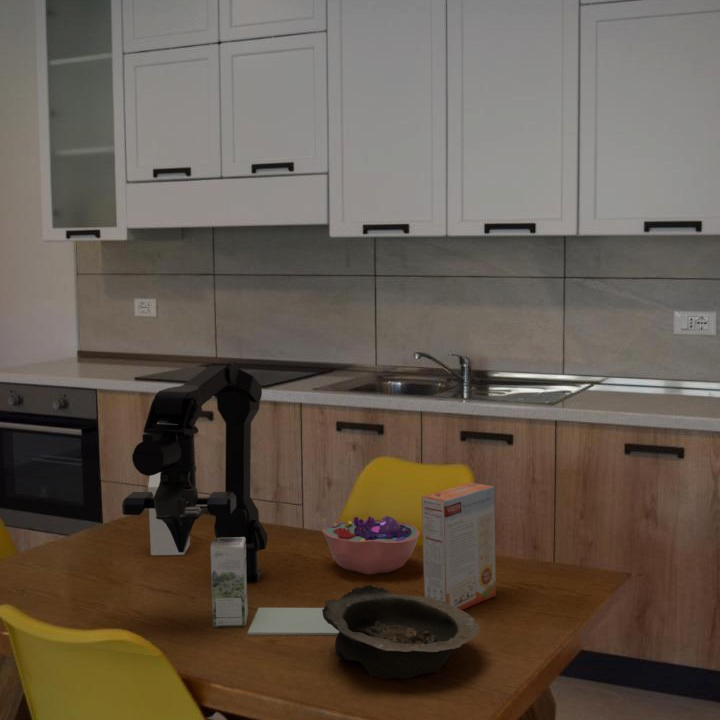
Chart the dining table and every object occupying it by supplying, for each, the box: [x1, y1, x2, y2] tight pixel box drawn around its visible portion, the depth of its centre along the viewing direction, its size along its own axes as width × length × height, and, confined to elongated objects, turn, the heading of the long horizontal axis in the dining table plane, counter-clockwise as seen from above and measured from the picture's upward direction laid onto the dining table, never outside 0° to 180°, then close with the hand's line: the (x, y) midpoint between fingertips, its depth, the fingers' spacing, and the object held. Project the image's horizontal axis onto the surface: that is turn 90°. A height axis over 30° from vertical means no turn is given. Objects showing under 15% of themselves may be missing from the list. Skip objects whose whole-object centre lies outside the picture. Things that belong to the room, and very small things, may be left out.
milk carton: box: [147, 472, 191, 556], centre depth 222 cm, size 7×7×19 cm
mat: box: [247, 607, 339, 636], centre depth 180 cm, size 12×16×1 cm
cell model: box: [321, 515, 421, 575], centre depth 207 cm, size 17×20×11 cm
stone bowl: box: [322, 585, 481, 680], centre depth 162 cm, size 25×25×9 cm
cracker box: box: [421, 481, 497, 611], centre depth 187 cm, size 14×6×21 cm, turn 135°
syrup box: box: [209, 537, 249, 628], centre depth 180 cm, size 6×6×14 cm
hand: (181, 551), depth 180 cm, fingers closed
